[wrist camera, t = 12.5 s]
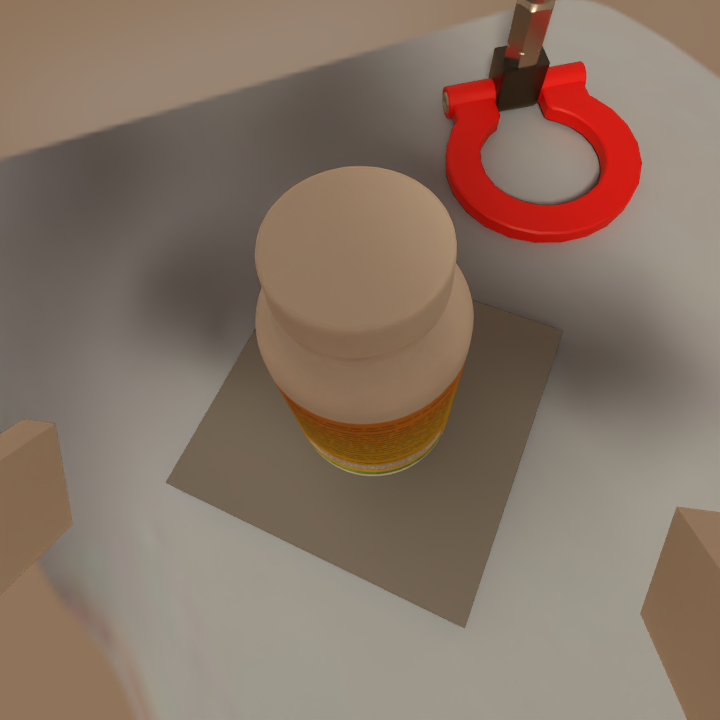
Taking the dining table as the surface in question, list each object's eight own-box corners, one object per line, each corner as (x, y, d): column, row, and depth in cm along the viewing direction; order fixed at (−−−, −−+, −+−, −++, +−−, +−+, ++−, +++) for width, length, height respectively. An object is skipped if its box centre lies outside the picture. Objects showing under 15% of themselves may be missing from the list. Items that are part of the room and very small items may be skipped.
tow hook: (660, 229, 22) (587, 77, 26) (966, -150, 10) (756, -343, 14) (470, 265, 22) (422, 107, 26) (560, -76, 10) (448, -288, 14)
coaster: (172, 485, 19) (165, 482, 18) (307, 251, 23) (305, 242, 22) (462, 627, 16) (464, 628, 16) (558, 337, 20) (563, 330, 20)
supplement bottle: (475, 441, 18) (553, 299, 9) (332, 504, 18) (268, 418, 9) (409, 317, 20) (421, 105, 11) (280, 370, 20) (186, 190, 11)
